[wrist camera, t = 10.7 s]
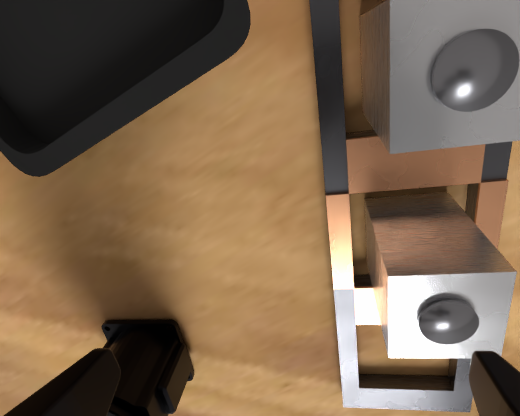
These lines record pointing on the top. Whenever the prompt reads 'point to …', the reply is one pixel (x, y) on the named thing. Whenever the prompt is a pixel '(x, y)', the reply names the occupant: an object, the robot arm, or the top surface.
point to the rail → (384, 179)
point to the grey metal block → (441, 73)
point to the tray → (100, 67)
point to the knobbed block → (435, 278)
